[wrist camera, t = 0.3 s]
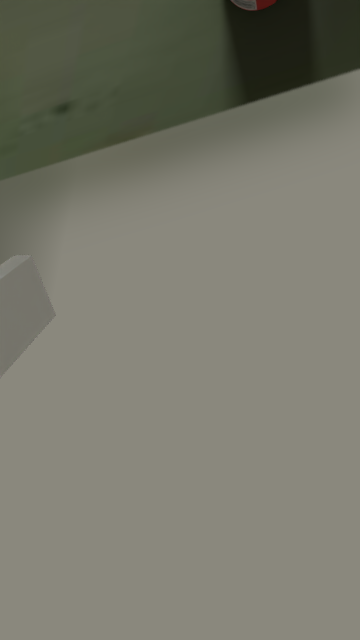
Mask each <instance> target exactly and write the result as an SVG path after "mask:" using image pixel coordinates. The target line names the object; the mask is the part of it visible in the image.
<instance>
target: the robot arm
mask: <svg viewBox="0 0 360 640" xmlns="http://www.w3.org/2000/svg"><path fill="white" fill-rule="evenodd" d="M55 316H56V314H55V312H54V309H53V307H52V304H51V302H50V300H49V297H48V294H47V292H46V289H45V287H44V285H43V282H42V280H41V277H40V275H39V272H38V270H37V267H36V265H35V262H34V260H33V257H32V256H23V255H14V256H13V257H11V258H10V259H8V260H7V261H6V262H4V263H3V264H1V265H0V377H1V376H2V375H3V374H4V373H5V372H6V371H7V370H8V368H9V367H10V366H11V365H12V364H13V363H14V362H15V361H16V360H17V358H18V357H19V356H20V355H21V354H22V353H23V352H24V351H25V349H26V348H27V347H28V346H29V345H30V344H31V343H32V341H33V340H34V339H35V338H36V337H37V336H38V335H39V334H40V332H41V331H42V330H43V329H44V328H45V327H46V326H47V325H48V324H49V322H50V321H51V320H52V319H53V318H54V317H55Z"/></svg>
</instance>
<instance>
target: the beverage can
mask: <svg viewBox="0 0 360 640" xmlns="http://www.w3.org/2000/svg"><path fill="white" fill-rule="evenodd" d="M231 1H232V2H233V3H234V4H235V5H236V6H238V7H240V8H242V9H244V10H249V11H257V10H261V9H264V8H267V7H269V6H270V5H272V4H274V3H275V2H276V1H277V0H231Z"/></svg>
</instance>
